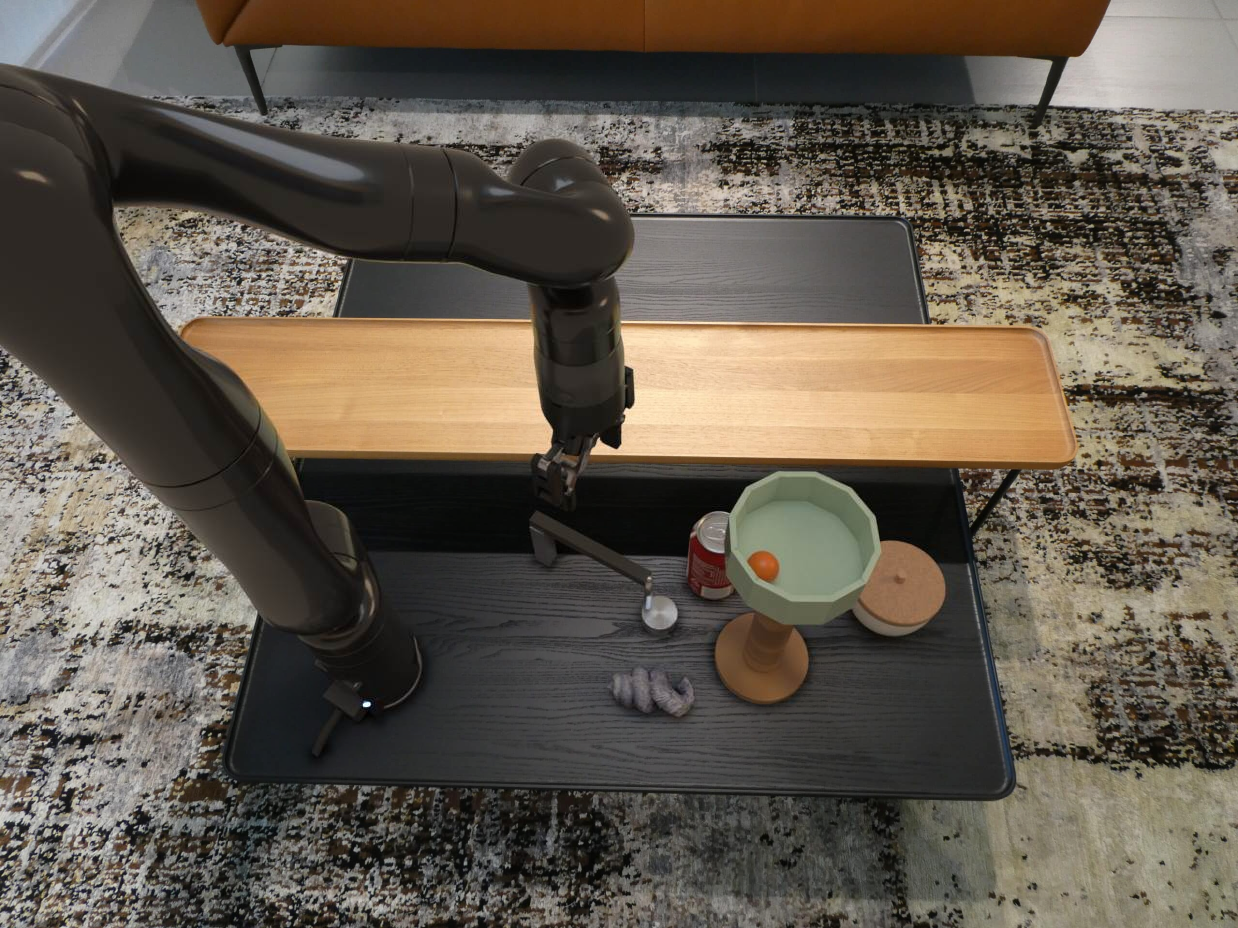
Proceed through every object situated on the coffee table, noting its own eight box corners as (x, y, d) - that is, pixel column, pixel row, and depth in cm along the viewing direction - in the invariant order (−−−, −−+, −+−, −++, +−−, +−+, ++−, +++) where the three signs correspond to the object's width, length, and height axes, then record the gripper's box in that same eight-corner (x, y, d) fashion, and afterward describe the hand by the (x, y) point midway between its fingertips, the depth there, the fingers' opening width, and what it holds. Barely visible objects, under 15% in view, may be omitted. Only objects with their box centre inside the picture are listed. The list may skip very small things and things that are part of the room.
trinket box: (936, 589, 105) (960, 554, 98) (913, 663, 100) (936, 633, 92) (853, 556, 108) (870, 519, 100) (826, 626, 103) (842, 594, 95)
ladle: (683, 613, 104) (687, 577, 96) (666, 642, 102) (669, 608, 94) (549, 540, 110) (542, 501, 102) (530, 567, 108) (522, 528, 100)
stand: (783, 721, 96) (826, 633, 75) (698, 674, 100) (716, 576, 78) (821, 643, 102) (872, 539, 80) (739, 600, 105) (767, 489, 83)
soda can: (735, 606, 104) (746, 562, 94) (681, 596, 105) (686, 552, 95) (742, 558, 108) (753, 511, 98) (690, 549, 109) (695, 502, 99)
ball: (760, 577, 74) (786, 583, 75) (759, 545, 75) (785, 550, 76) (739, 584, 76) (765, 589, 78) (738, 552, 77) (764, 557, 79)
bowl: (832, 650, 74) (844, 628, 70) (700, 581, 78) (703, 556, 74) (887, 537, 80) (901, 510, 76) (762, 478, 84) (768, 449, 80)
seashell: (693, 699, 99) (609, 695, 100) (695, 660, 98) (609, 655, 98) (693, 727, 94) (604, 722, 95) (695, 685, 93) (605, 681, 93)
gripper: (587, 301, 76) (594, 410, 89) (495, 409, 69) (517, 510, 82) (660, 332, 73) (656, 439, 87) (572, 447, 67) (582, 544, 80)
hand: (588, 474), depth 85 cm, fingers open, 8 cm apart
